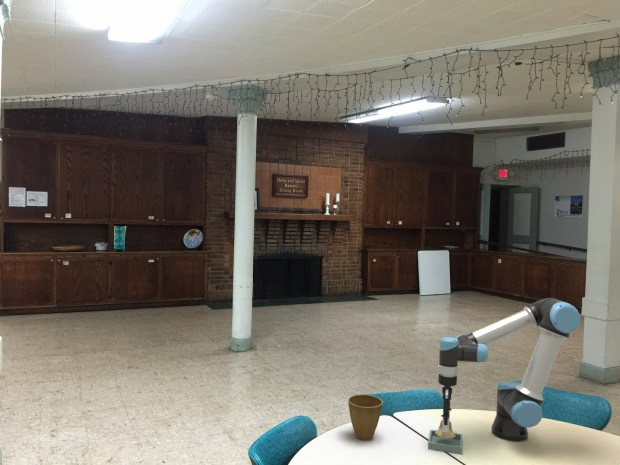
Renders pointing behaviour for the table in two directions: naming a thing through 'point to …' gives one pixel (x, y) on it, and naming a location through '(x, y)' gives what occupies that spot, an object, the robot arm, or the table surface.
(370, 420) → the plant pot
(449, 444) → the tray
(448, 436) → the hand bell
